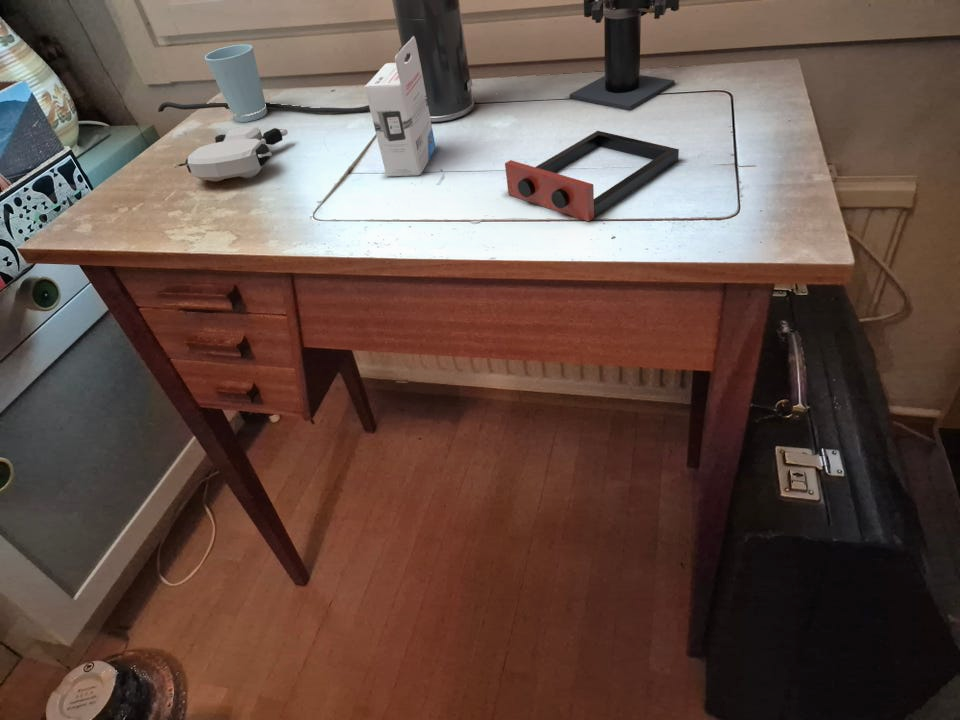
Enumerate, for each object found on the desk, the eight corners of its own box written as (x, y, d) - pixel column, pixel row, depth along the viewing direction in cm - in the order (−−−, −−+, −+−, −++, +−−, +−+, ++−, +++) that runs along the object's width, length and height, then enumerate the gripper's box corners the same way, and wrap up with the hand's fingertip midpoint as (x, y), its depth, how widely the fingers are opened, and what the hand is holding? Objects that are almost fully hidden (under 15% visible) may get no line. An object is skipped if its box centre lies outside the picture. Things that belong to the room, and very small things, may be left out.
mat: (569, 98, 99) (569, 94, 98) (614, 74, 104) (614, 70, 104) (630, 110, 92) (630, 106, 92) (674, 84, 97) (674, 80, 97)
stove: (503, 197, 77) (499, 165, 75) (597, 141, 86) (597, 111, 83) (583, 225, 70) (582, 191, 68) (678, 161, 78) (680, 128, 76)
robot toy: (221, 156, 102) (182, 194, 90) (211, 127, 99) (168, 162, 87) (297, 147, 101) (267, 185, 89) (288, 117, 98) (256, 151, 86)
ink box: (403, 149, 92) (379, 37, 83) (437, 148, 91) (416, 34, 82) (385, 177, 86) (356, 59, 77) (420, 176, 85) (395, 56, 75)
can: (605, 94, 96) (605, 20, 90) (604, 83, 100) (603, 11, 94) (640, 91, 95) (642, 16, 89) (637, 79, 99) (639, 6, 93)
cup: (269, 120, 109) (246, 54, 102) (224, 127, 110) (198, 62, 103) (277, 105, 115) (256, 41, 108) (234, 111, 115) (211, 48, 109)
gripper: (593, -37, 107) (577, -11, 96) (684, -46, 103) (679, -20, 92) (594, 13, 112) (579, 43, 101) (681, 7, 108) (676, 37, 97)
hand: (627, 13), depth 96 cm, fingers open, 8 cm apart
